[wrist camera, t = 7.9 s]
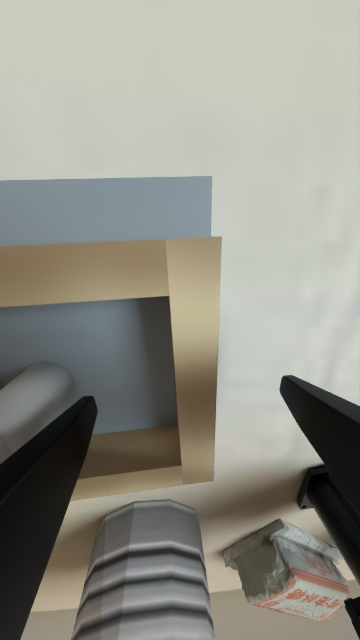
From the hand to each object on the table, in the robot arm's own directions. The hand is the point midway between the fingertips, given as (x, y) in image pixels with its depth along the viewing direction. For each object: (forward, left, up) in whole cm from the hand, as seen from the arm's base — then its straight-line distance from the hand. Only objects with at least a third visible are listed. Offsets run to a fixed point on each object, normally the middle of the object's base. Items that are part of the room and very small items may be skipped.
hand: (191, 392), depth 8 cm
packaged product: (-34, -13, -4) cm, 37 cm away
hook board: (0, +8, -4) cm, 8 cm away
